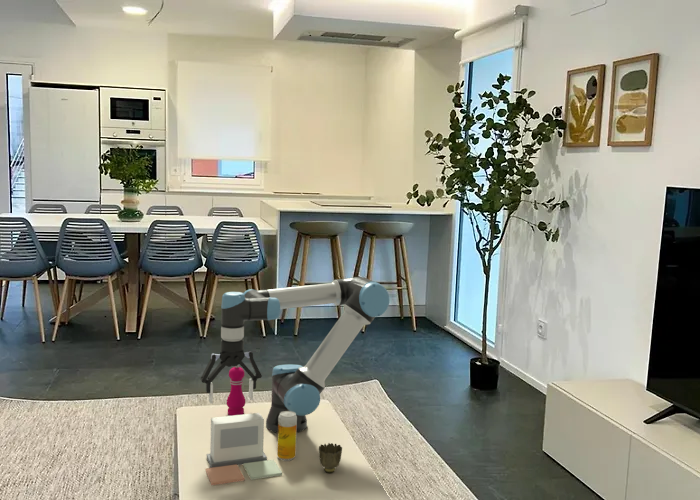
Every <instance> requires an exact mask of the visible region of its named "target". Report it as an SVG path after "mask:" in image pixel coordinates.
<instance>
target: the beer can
mask: <svg viewBox="0 0 700 500" xmlns="http://www.w3.org/2000/svg"><path fill="white" fill-rule="evenodd" d="M296 431H297V416H296V413H295V412H292V411H283V412H281V413H280V415H279V417H278V433H277V447H276V448H277V449H276V450H277V453H276V456H277V457H278V459H279V460H281V461H284V462H285V461H286V462H287V461H293V459H294V458H296V455H297V433H296Z"/></svg>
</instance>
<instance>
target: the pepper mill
mask: <svg viewBox="0 0 700 500" xmlns="http://www.w3.org/2000/svg"><path fill="white" fill-rule="evenodd" d="M228 376H229V377H228V378H230V379H229V384H230V392H229V395H228V396H227V399H226V406H227V407H228V408H227V416H233V415H243V414H244V413H245V408H244V407H245V405H246V398H245V397H246V396H245V395H244V393H243V388H242V386H243V383H244V379H243V378H244V377H245V370H244V369H243V368H242V366H241V367H240V364H239V365H237V366H232V367H230V369H229V371H228Z"/></svg>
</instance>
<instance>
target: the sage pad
mask: <svg viewBox="0 0 700 500" xmlns="http://www.w3.org/2000/svg"><path fill="white" fill-rule="evenodd" d="M242 466H243V469H244V470H245V472H246V473H247V476H248V477H249V478H250V480H252V481H253V480H258V479H263V478H271V477H277V476H279V477H280V476H283V471H282V470H281V468H280V467H279V465H278V463H276V461H275V459H268V460H266V461H258V462H251V463H243V465H242Z"/></svg>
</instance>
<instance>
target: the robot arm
mask: <svg viewBox="0 0 700 500" xmlns="http://www.w3.org/2000/svg"><path fill="white" fill-rule="evenodd" d="M221 297H222V298H221V306H220V308H221V311H220V312H221V315H220V317H221V319H220V320H221V323H220V326H221V328H220V338H221V340H220V353H219V354H218V353H214V352H212V353H210V359H209V361H208V362H207V365H206V367H205V369H204V371H203V373H202V374H201V377H200V382H201V383H202V384H203V383H204V384H205V392H206V394H208V402H209V404H213V402H214V401H213V399H214V395H213V394H214V384H213V381H214V380H215V379H216V377H217V376H218V375H219V374H220V373H221V371H222V370H224V369H225V367H227V368H232V367H235V366H237V365H239V366H241V368H242V369H243V370H244V372H246V373H247V375H249V377H250V378H249V379H248V381H249V382H248V398H249V399H250V400H254V390H255V389H256V388H257V380H258V379H261V378H262V377H263V375H262V373H261V371H260V370H259V367H258V365H257V363H256V362H255V359H254V353H253V352H252V351H251V350H247V351H246V352H245V351H244V345H245V343H244V342H245V341H244V337H245V322H249V321H271V320H277V319H279V318H280V314H281V310H284V309H285V310H287V309H294V308H303V307H311V306H321V305H330V304H334V305H335V306H343V309H344V311H343V312H342V313H341V315H340V316H339V318H338V320H337V321H336V322H335V323H334V325H333V326H332V328H331V329H330V331H329V332H328V333H327V335H326V336H325V337H324V339H323V340H322V342H321V343H320V345H319V346H318V348H317V349H316V350H315V352H314V353H313V354H312V356H311V357H310V358H309V359H308V360H307V362H306V363H305V365H301V364H288V363H287V364H279V365H276V366H274V367H273V368H272V373H271V402H270V403H271V405H270V409H269V411H268V414H267V416H266V421H265V428H267V430H268V431H271V432H273V433H277V434H278V417H279V415H280V413H281V412H283V411H292V412H295V413H296V416H297V431H296V434H297V433H301V432H303V431H305V430H306V429H307V428H308V427H307V426H308V419H307V416H308V415H310V414H312V413H313V412H315V411H316V410H317V409H318V407H319V405H320V403H321V394H322V392H323V391H324V390H325V388H326V382H325V381H326V379H327V378H328V376H329V375H330V374H331V372H332V371H333V370H334V369H335V366H336V365H337V364H338V362H339V361H340V359H341V358H342V357H343V356H344V354H345V353H346V351H347V350H348V348H349V347H350V345H351V344H352V343H353V341H354V340H355V338H356V337H357V336H358V335H359V333H360V331H361V330H362V329H363V328H364V326H367V325H371V323H372V322H373V321H374V319H375V318H378V317H380V316H383V314H384V313H386V312H387V310H388V309H389V305H390V295H389V292H388V290H387V289H386V287H385V286H383V285H382V284H380V283H379V282H378V281H374V280H371V279H369V278H367V277H362V276H354V277H347V278H340V279H334V280H332V282H328V283H318V284H310V285H300V286H292V287H291V286H290V287H280V288H273V289H272V288H271V289H260V290H256V289H253V288H251V289H247V290H245V291H244V292H241V291H226V292H224V293H223V294H222V296H221ZM245 357H246V358H247V359H248V360H249V363H250V365H251V366H252V368H253V371H254V373H255V374H254V373H253V372H252V371H251V370H250V368H248V366H247V365H246V364H245V363H244V361H243V360H244V358H245ZM218 359H220V361H219V363H218V364H217V366H216V367H215V368H214V370H213V371H212V369H213V367H214V365H215V363H216V361H218ZM211 371H212V372H211Z"/></svg>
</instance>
